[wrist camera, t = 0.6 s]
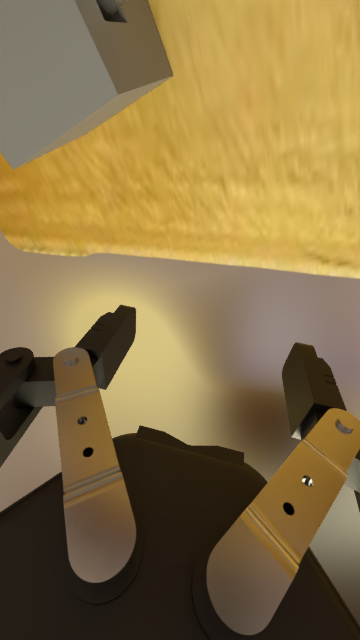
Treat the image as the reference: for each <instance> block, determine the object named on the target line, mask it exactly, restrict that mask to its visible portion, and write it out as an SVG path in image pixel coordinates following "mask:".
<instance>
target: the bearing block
mask: <svg viewBox="0 0 360 640" xmlns="http://www.w3.org/2000/svg"><path fill="white" fill-rule="evenodd" d="M172 76H173V73H172V70H171V67H170V64H169V61H168V59H167V56H166V53H165V50H164V47H163V44H162V41H161V38H160V35H159V32H158V29H157V27H156V24H155V21H154V18H153V15H152V12H151V9H150V6H149V3H148V0H128V1H127V2H126V3H125V4H124V5H123V6H121V7H120V8H119V9H118V10H117V11H116V12H115V13H114V14H113V15H112V16H111V17H110V18H109V19H108V20H106V21H105V20H104V18H103V15H102V13H101V11H100V8H99V6H98V4H97V1H96V0H0V153H1V154H2V155H3V156H4V158H5V159H6V160H7V162H8V163H9V164H10V165H11V167H12V168H13V169H16V168H18V167H20V166H22V165H24V164H26V163H28V162H30V161H32V160H34V159H36V158H38V157H40V156H42V155H45V154H47V153H49V152H51V151H53V150H55V149H57V148H59V147H61V146H63V145H65V144H67V143H69V142H71V141H73V140H75V139H77V138H79V137H81V136H84V135H85V134H87V133H88V132H90V131H91V130H93V129H94V128H96V127H97V126H99V125H100V124H102V123H103V122H105V121H106V120H108V119H109V118H111V117H112V116H114V115H115V114H117V113H118V112H120V111H121V110H123V109H124V108H126V107H127V106H129V105H130V104H132V103H133V102H135V101H136V100H138V99H139V98H141V97H142V96H144V95H145V94H147V93H148V92H150V91H151V90H153V89H154V88H156V87H157V86H159V85H160V84H162V83H163V82H165V81H166V80H168V79H169V78H171V77H172Z"/></svg>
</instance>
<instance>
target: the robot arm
mask: <svg viewBox="0 0 360 640" xmlns="http://www.w3.org/2000/svg"><path fill="white" fill-rule="evenodd" d="M135 333H136V309H135V308H134V307H129V306H124V305H120V306H119V307H118V308H117V310H116V311H115V312H114V313H111V312H108V313H106V314H105V315H103V316H101V317H100V318H99V319H98V320H97V321H96V323H95V324H94V325H93V326H92V327H91V329H90V330H89V331H88V332H87V333H86V334H85V336H84V337H83V338H82V339H81V340H80V341H79V343H78V344H77V345H76V346H75V347H72V348H67V349H64V350H62V351H60V352H59V353H58V354H56V355H55V357H34V355H33V352H32V351H31V350H30V349H28V348H22V347H18V348H13V349H9V350H6V351H4V352H2V353H1V354H0V467H1V466H2V464H3V463H4V462H5V460H6V459H7V457H8V456H9V454H10V453H11V451H12V450H13V448H14V447H15V446H16V444H17V443H18V442H19V440H20V439H21V437H22V436H23V434H24V433H25V431H26V430H27V429H28V427H29V426H30V424H31V423H32V421H33V420H34V419H35V417H36V416H37V414H38V413H39V411H40V410H41V408H42V407H43V406H56V415H57V426H58V436H59V447H60V457H61V468H62V472H60V473H59V474H57V475H56V476H54V477H53V478H51V479H50V480H48V481H47V482H45V483H44V484H42V485H41V486H39V487H38V488H36V489H35V490H33V491H32V492H30V493H29V494H27V495H25V496H24V497H22V498H21V499H19V500H18V501H16V502H15V503H13V504H12V505H10V506H9V507H8V508H6V509H4V510H3V511H1V512H0V640H360V626H359V624H358V623H357V621H356V619H355V618H354V616H353V615H352V613H351V612H350V610H349V608H348V607H347V605H346V604H345V602H344V601H343V599H342V597H341V596H340V594H339V593H338V591H337V590H336V588H335V586H334V585H333V583H332V582H331V580H330V579H329V577H328V576H327V574H326V572H325V571H324V569H323V568H322V566H321V564H320V563H319V561H318V560H317V558H316V557H315V555H314V553H313V552H312V550H311V549H310V547H309V545H310V543H311V541H312V539H313V538H314V536H315V534H316V532H317V530H318V528H319V527H320V525H321V523H322V522H323V520H324V518H325V516H326V514H327V513H328V511H329V509H330V507H331V506H332V504H333V502H334V500H335V499H336V497H337V495H338V493H339V491H340V490H341V488H342V486H343V484H345V485H347V486H349V487H350V488H352V489H354V492H355V496H356V499H357V503H358V507H359V511H360V421H359V420H358V419H357V418H356V417H355V416H353V415H352V414H350V413H349V412H347V411H346V407H345V405H344V402H343V400H342V397H341V394H340V392H339V389H338V386H337V385H336V381H335V379H334V378H333V377H334V376H333V373H332V371H331V368H330V367H329V365H328V364H327V363H326V362H325V361H324V360H323V359H322V358H318V357H317V355H316V352H315V349H314V347H313V346H312V345H307V344H302V343H295V344H294V345H293V347H292V349H291V351H290V354H289V355H288V358H287V360H286V362H285V364H284V366H283V370H282V380H283V386H284V392H285V399H286V406H287V412H288V418H289V425H290V431H291V437H293V438H297V439H301V443H300V444H299V445H298V446H297V448H296V449H295V450H294V451H293V452H292V454H291V455H290V456H289V457H288V459H287V460H286V461H285V462H284V463H283V465H282V466H281V467H280V468H279V470H278V471H277V472H276V473H275V474H274V476H273V477H272V478H271V479H270V481H269V482H267V481H266V480H265V478H264V477H262V475H261V474H260V473H258V472H257V471H256V470H255V469H254V468H252V467H251V466H250V465H248V464H247V463H245V462H244V453H243V452H239V451H235V450H231V449H228V448H224V447H220V446H190V445H187V444H185V443H184V442H182V441H180V440H178V439H176V438H174V437H173V436H171V435H169V434H167V433H165V432H163V431H159V430H155V429H152V428H148V427H144V426H139V429H138V431H137V433H131V434H125V435H121V436H118V437H115V438H113V439H112V437H111V433H110V429H109V426H108V422H107V418H106V414H105V410H104V407H103V402H102V399H101V395H100V391H99V388H101V389H105V390H106V389H107V387H108V385H109V384H110V382H111V380H112V378H113V377H114V375H115V373H116V371H117V370H118V368H119V366H120V364H121V362H122V361H123V359H124V357H125V356H126V354H127V352H128V350H129V348H130V347H131V345H132V343H133V341H134V338H135Z"/></svg>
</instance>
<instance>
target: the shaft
mask: <svg viewBox="0 0 360 640" xmlns="http://www.w3.org/2000/svg"><path fill="white" fill-rule="evenodd" d="M96 1H97V4H98V6H99V8H100V11H101V13H102V15H103V18H104V20H105V21H106V20H108V19H109V18H110V17H111V16H112V15H113V14H114V13H115V12H116V11H117V10H118V9H119V8H120V7H121V6H123V5H124V4H125V3H126V2H127V1H128V0H96Z"/></svg>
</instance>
